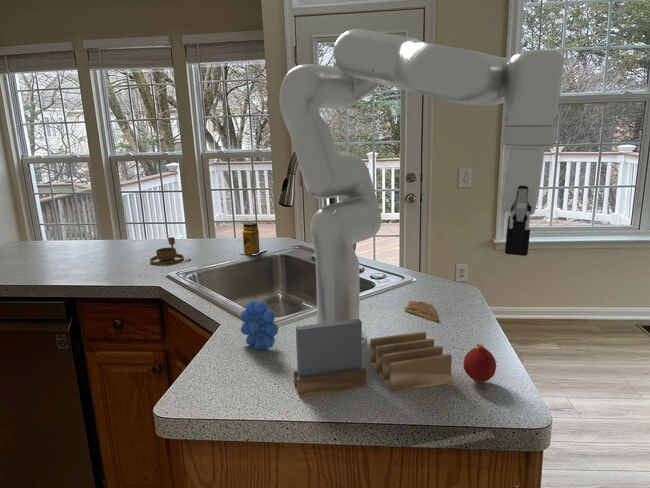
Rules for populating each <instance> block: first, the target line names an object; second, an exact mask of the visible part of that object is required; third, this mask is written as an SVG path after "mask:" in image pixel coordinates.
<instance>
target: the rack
mask: <svg viewBox="0 0 650 488" xmlns="http://www.w3.org/2000/svg"><path fill="white" fill-rule="evenodd" d="M443 349H444V347H443V346H442V345H438V346H435V339H434V338H427V332H426V331H417V332H411V333H410V332H409V333H403V334H402V333H401V334H396V335H388V336H381V337H372V338H370V341H369V360H368V361H369V363H370V364H371V366H372V367H373V368H374V370H375V371H376V372H377V374H378V375H379V377H380V378H381V379H382V380H383V382H384V383H385V385H386V386H387V388H388V389H389V390H390V392H391V393H398V392H405V391H409V390H415V389H422V388H427V387H433V386H438V385H439V386H440V385H445V384H446V385H448V386H449V387H452V385H453V384H452V382H453V381H452V380H451V379H452V376H451V375H452V360H453V356H452V354H450V353H447V354H443Z"/></svg>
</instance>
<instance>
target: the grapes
mask: <svg viewBox="0 0 650 488" xmlns="http://www.w3.org/2000/svg"><path fill="white" fill-rule="evenodd" d="M240 319H241V321H243V323H242V325H241V327H240V332H241V334H243V335H245V336H246V339H245V342H246V344H247V345H248V346H250V347H252V346H254V349H255V350H257V351H264V350H266V348H268V349H269V348H272V347H273V346H274V345H275V341H276V340H275V339H276V338H275V336H276V335H277V334H278V333H279V332H278V331H279V326H278V325H277V324H276V322H275V319H276V313H275V311H274V310H273V309H270V308H269V309H268V304H267V302H266V301H264V300H258V301H255V300H250V301H248V302H247V304H246V306H245V309H243V311H241V313H240Z"/></svg>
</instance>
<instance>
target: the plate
mask: <svg viewBox="0 0 650 488" xmlns="http://www.w3.org/2000/svg"><path fill="white" fill-rule="evenodd" d="M362 324H363V322H362V321H361V319H360V318H359V319H354V320H346V321H338V322H330V323H322V324H317V323H316V324H309V325H300V326H295V334H296V335H295V339H296V341H295V343H296V370H297V376H298V378H300V377H306V376H313V375H319V374H326V373H333V372H339V371H346V370H352V369H359V368H363V367H362V366H363V365H362V362H363V361H362V357H363V355H362V354H363V353H362V346H363V345H362V331H363V327H362V326H363V325H362Z"/></svg>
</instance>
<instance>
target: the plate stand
mask: <svg viewBox="0 0 650 488" xmlns="http://www.w3.org/2000/svg"><path fill="white" fill-rule="evenodd" d="M292 382H293V385H294V388H295V390H296V393H297V396H298V398H299V399H300V398H301V399H302V398H307V397H314V396H319V395H320V396H321V395H326V394H331V393H338V392H344V391H350V390H357V389H363V388H368V387H369V385H368V384H367V369H366V367H362V368H359V369H352V370H346V371H339V372H333V373H326V374H319V375H313V376H306V377H300V378H298V376H297V369H295V370H293V380H292Z"/></svg>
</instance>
